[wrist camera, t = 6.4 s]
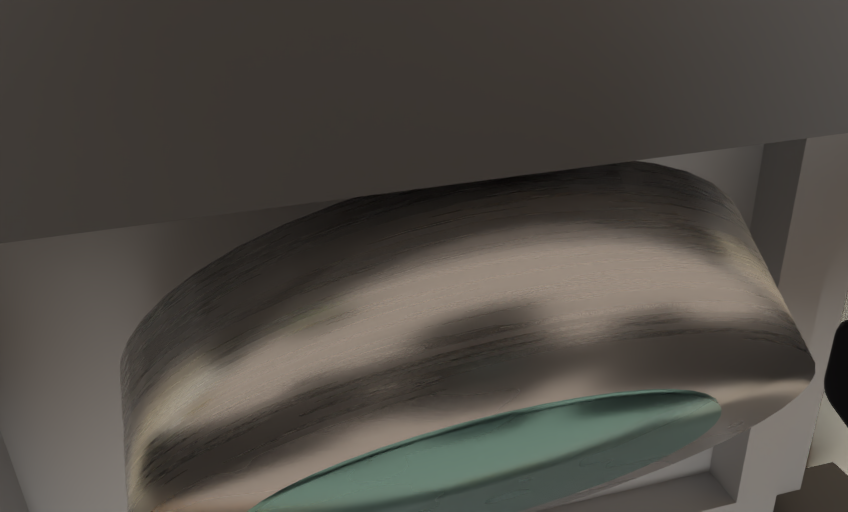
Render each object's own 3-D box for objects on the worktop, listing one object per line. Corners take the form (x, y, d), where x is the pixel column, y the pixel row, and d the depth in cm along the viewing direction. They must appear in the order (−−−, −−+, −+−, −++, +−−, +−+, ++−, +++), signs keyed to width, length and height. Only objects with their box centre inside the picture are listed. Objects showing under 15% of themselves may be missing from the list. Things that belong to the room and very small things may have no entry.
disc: (888, 116, 7) (998, 289, 6) (613, 389, 12) (650, 491, 12) (20, 222, 5) (18, 471, 4) (174, 475, 11) (185, 600, 10)
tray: (1001, -185, 11) (1360, -214, 7) (820, 509, 16) (977, 667, 13) (-626, -138, 7) (-1395, -155, 4) (-119, 744, 13) (-232, 1050, 9)
